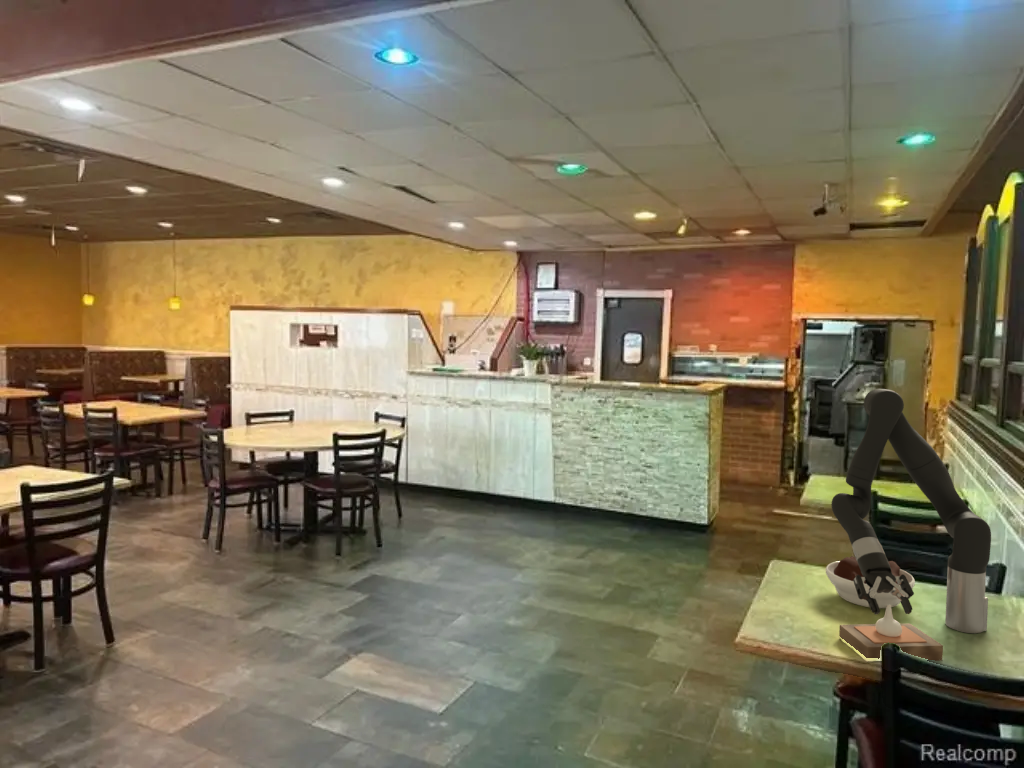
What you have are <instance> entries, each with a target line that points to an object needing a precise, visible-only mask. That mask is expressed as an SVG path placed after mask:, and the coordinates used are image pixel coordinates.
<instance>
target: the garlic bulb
mask: <svg viewBox="0 0 1024 768" xmlns="http://www.w3.org/2000/svg"><path fill="white" fill-rule="evenodd" d="M891 606H892V605H890V604H889V605H887V607H886V608H885V610H884V611H885V612H884V616H883V617H881V618H879V619H878V620H877V621H876V622H875V624H876V625H875V627H876V630H877V632H878V633H880V634H882V635H884V636H888V637H898V636H900V635H901V634H902V627H901V625H900V624H901V623H900V622H899V621H898V620H896V619H894V615H893V610H892V607H891Z"/></svg>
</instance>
